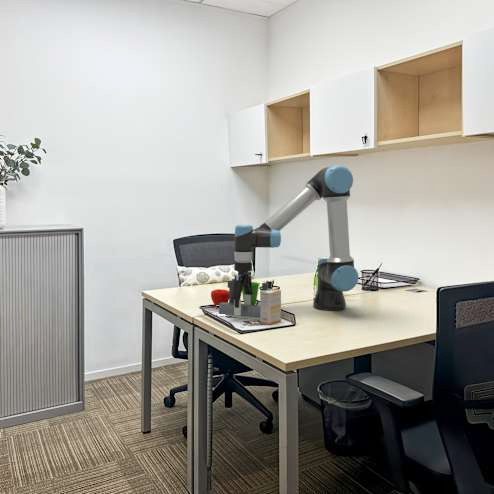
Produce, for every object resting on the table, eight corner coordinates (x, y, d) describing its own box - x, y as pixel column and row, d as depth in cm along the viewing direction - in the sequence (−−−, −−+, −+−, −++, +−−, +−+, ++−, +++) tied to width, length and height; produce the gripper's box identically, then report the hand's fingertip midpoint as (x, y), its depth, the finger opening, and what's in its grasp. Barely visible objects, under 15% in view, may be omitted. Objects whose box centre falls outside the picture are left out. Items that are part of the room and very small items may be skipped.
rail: (265, 316, 213) (265, 305, 212) (263, 318, 209) (263, 307, 209) (222, 312, 219) (222, 302, 219) (218, 313, 216) (219, 303, 216)
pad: (269, 317, 214) (269, 315, 214) (264, 320, 208) (264, 319, 208) (222, 312, 222) (222, 311, 222) (215, 315, 215) (215, 314, 215)
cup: (257, 309, 230) (257, 285, 229) (238, 308, 232) (238, 284, 231) (261, 305, 239) (261, 282, 238) (242, 304, 240) (242, 281, 240)
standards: (274, 313, 222) (274, 281, 221) (269, 316, 216) (270, 283, 215) (229, 309, 229) (230, 278, 228) (224, 311, 223) (224, 280, 222)
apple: (208, 305, 238) (208, 288, 237) (226, 304, 241) (226, 287, 240) (213, 309, 229) (213, 292, 228) (232, 307, 232) (232, 291, 232)
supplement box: (271, 319, 210) (272, 288, 208) (281, 321, 207) (281, 289, 205) (259, 323, 203) (260, 291, 202) (269, 325, 200) (269, 292, 199)
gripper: (244, 258, 225) (243, 306, 227) (224, 264, 203) (223, 317, 205) (260, 259, 222) (259, 307, 224) (241, 265, 200) (241, 318, 202)
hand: (242, 312), depth 214 cm, fingers open, 11 cm apart
